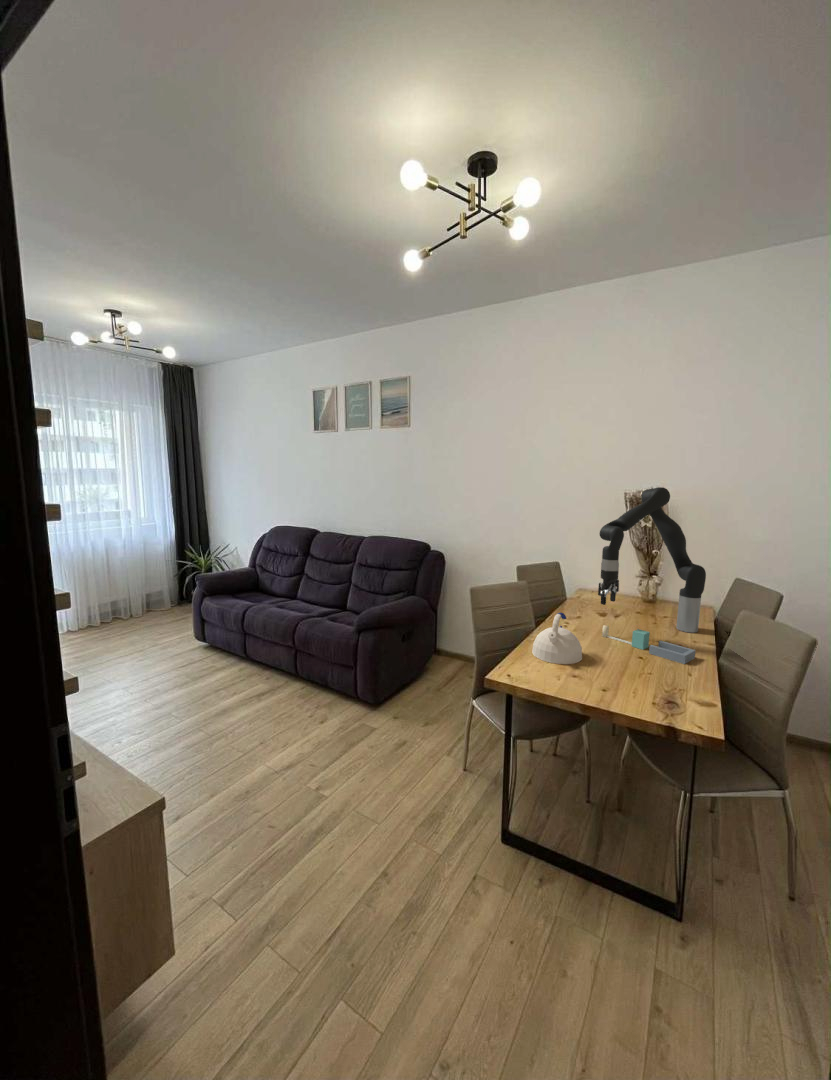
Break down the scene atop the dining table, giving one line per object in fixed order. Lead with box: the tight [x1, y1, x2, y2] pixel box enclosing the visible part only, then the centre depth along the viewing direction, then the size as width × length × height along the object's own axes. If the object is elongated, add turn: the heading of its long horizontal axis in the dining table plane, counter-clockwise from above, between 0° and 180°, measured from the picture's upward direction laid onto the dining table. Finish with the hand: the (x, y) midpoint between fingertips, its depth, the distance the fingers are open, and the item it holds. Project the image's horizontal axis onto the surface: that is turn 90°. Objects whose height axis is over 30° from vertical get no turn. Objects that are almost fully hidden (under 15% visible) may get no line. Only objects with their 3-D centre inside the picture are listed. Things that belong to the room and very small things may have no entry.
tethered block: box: [601, 624, 651, 651], centre depth 204 cm, size 5×20×7 cm, turn 37°
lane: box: [648, 640, 696, 665], centre depth 188 cm, size 10×14×4 cm
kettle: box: [531, 612, 583, 665], centre depth 187 cm, size 20×21×18 cm
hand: (607, 602), depth 209 cm, fingers open, 8 cm apart
